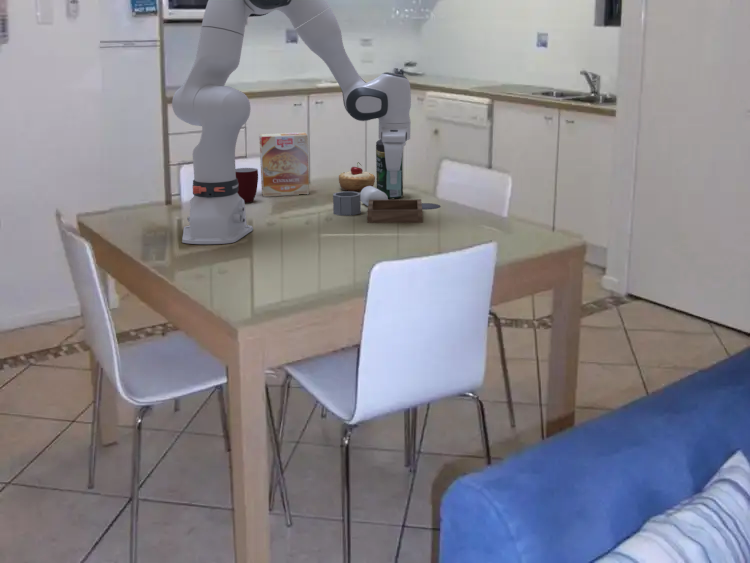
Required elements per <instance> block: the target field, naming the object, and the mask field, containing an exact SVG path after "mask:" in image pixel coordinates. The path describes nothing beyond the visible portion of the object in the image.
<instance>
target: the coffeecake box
mask: <svg viewBox="0 0 750 563" xmlns="http://www.w3.org/2000/svg"><path fill="white" fill-rule="evenodd" d="M258 138H259V155H260V156H259V157H260V158H259V159H260V180H261V183H260V184H261V185H260V186H261V194H262V196H263V197H265V198H267V197H281V196H282V197H283V196H286V197H287V196H300V195H299V194H307V195H310V176H309V175H310V174H309V173H310V172H309V145H308V143H309V140H308V134H307V133H306V132H305V131H302V132H278V133H277V132H276V133H259V135H258Z"/></svg>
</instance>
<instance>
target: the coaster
mask: <svg viewBox="0 0 750 563" xmlns="http://www.w3.org/2000/svg"><path fill="white" fill-rule="evenodd" d="M439 208H441V205H440V204H437V203H433V202H432V203H429V202H428V203H427V202H422V211H423V210H436V209H439Z"/></svg>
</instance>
